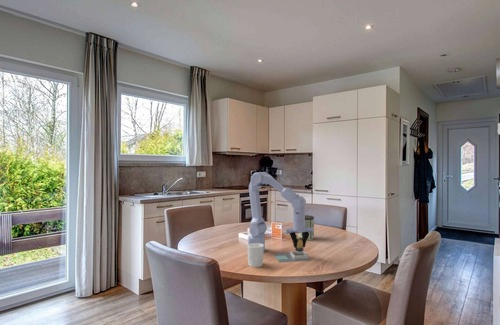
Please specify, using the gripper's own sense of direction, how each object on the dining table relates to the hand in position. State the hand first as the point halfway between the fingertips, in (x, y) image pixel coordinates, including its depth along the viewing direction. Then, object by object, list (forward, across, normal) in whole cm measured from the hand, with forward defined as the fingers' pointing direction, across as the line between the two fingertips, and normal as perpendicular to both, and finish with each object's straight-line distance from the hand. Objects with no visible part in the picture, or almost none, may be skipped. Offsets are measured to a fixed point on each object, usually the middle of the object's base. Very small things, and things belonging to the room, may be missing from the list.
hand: (299, 247), depth 148 cm
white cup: (+6, -24, -8) cm, 26 cm away
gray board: (+6, -4, 0) cm, 7 cm away
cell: (+2, 0, 0) cm, 2 cm away
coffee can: (+6, +16, +37) cm, 41 cm away
